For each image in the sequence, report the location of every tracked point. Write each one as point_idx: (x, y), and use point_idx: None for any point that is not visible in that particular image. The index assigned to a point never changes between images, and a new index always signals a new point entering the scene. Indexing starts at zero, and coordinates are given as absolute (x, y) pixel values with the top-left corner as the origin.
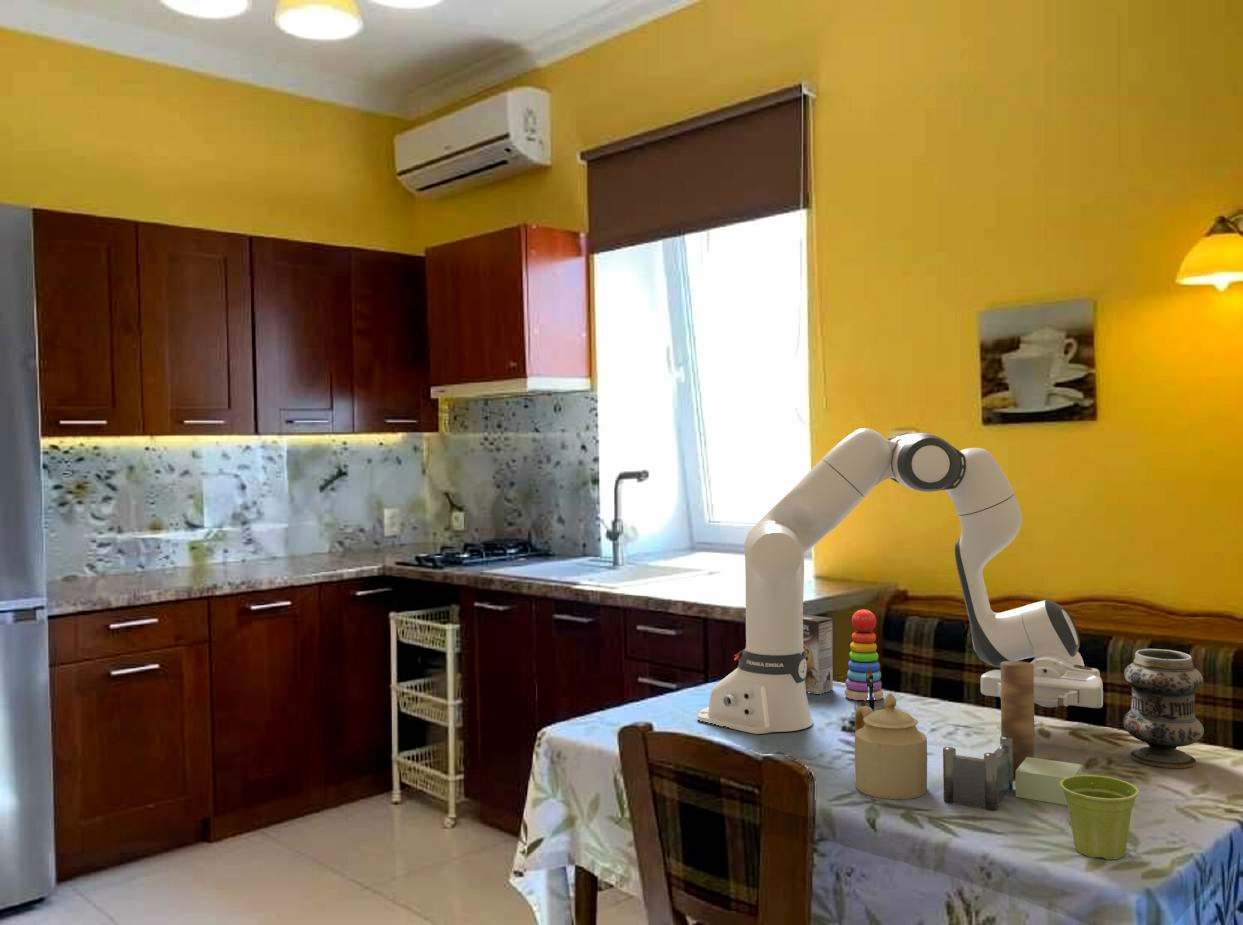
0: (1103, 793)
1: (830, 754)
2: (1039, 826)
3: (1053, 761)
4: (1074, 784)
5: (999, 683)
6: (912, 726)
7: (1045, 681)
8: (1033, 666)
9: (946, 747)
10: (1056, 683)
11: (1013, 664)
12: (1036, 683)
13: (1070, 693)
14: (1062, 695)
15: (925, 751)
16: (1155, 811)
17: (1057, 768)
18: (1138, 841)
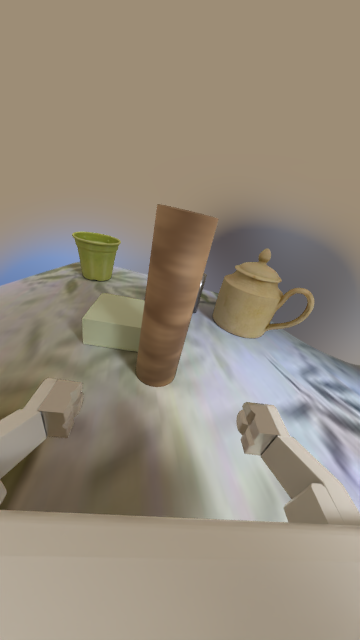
0: (91, 251)
1: (340, 374)
2: (129, 292)
3: (115, 321)
4: (110, 248)
5: (334, 481)
6: (235, 266)
7: (119, 559)
8: (157, 206)
9: (204, 275)
10: (36, 535)
11: (193, 212)
12: (177, 518)
13: (5, 419)
14: (60, 382)
15: (222, 288)
16: (18, 315)
17: (113, 307)
18: (67, 282)
